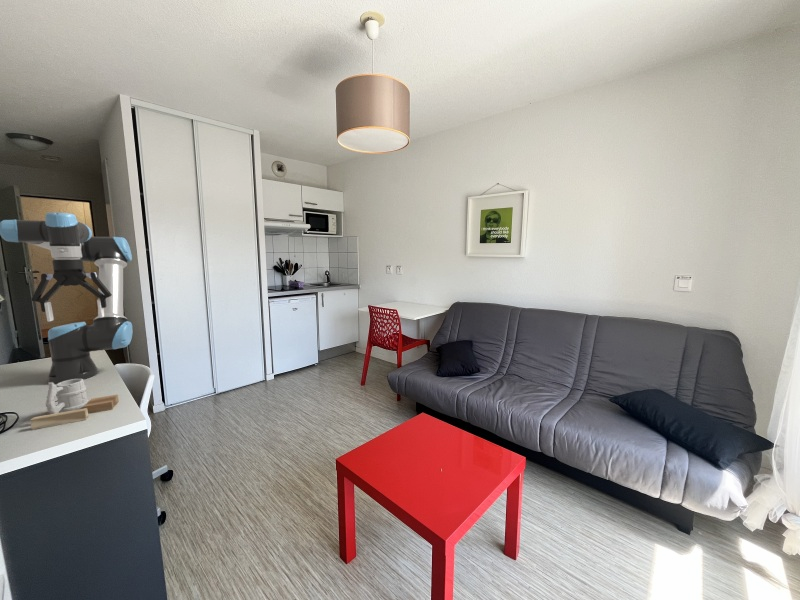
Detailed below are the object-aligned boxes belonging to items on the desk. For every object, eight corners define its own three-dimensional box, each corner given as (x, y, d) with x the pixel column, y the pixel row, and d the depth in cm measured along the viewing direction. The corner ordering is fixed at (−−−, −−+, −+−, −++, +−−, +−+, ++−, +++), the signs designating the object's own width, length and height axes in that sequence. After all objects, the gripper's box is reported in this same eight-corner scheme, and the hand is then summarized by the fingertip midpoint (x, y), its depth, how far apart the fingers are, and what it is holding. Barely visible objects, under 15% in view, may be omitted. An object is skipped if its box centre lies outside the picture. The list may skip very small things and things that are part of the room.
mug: (96, 404, 112) (91, 371, 111) (63, 421, 101) (57, 384, 99) (73, 405, 112) (68, 372, 110) (37, 422, 100) (30, 385, 99)
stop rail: (35, 426, 98) (33, 417, 97) (88, 417, 103) (87, 408, 103) (31, 429, 96) (30, 420, 96) (86, 419, 102) (84, 410, 101)
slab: (92, 407, 111) (91, 398, 111) (118, 402, 115) (117, 394, 114) (84, 415, 105) (83, 406, 105) (112, 410, 109) (111, 401, 108)
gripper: (9, 259, 104) (21, 324, 107) (110, 258, 115) (119, 317, 119) (22, 259, 110) (33, 320, 113) (116, 258, 122) (124, 313, 125)
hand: (77, 318), depth 116 cm, fingers open, 13 cm apart
